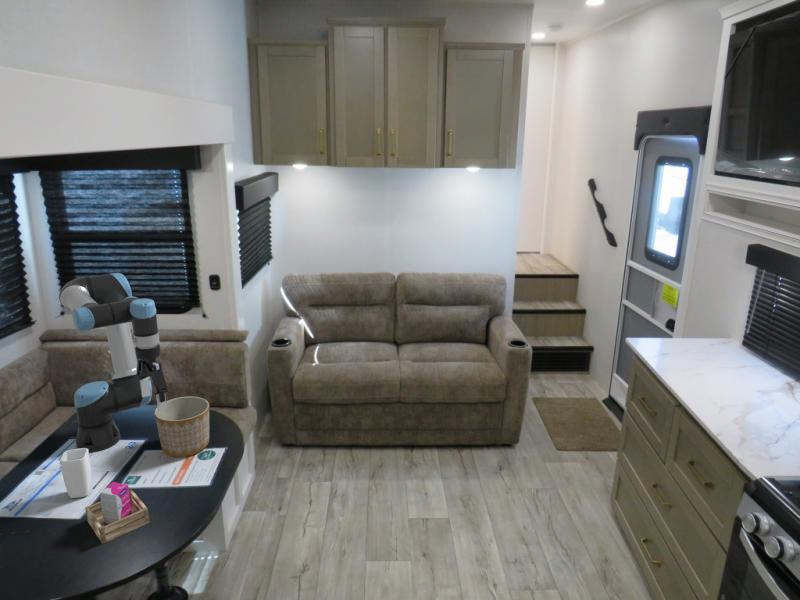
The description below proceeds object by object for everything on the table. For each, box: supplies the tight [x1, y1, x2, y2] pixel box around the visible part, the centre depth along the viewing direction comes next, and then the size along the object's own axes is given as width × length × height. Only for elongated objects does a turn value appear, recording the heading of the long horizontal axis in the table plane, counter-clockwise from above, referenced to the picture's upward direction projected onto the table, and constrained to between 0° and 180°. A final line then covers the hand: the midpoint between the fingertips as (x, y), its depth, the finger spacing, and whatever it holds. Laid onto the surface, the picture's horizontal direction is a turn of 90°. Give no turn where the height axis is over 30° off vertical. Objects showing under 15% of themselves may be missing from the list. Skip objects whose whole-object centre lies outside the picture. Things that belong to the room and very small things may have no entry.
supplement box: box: [99, 481, 131, 525], centre depth 168 cm, size 6×6×12 cm
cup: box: [59, 448, 92, 499], centre depth 180 cm, size 7×7×15 cm
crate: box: [84, 488, 150, 545], centre depth 169 cm, size 14×14×5 cm
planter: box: [153, 395, 210, 458], centre depth 209 cm, size 19×19×16 cm
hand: (154, 402), depth 188 cm, fingers open, 13 cm apart
